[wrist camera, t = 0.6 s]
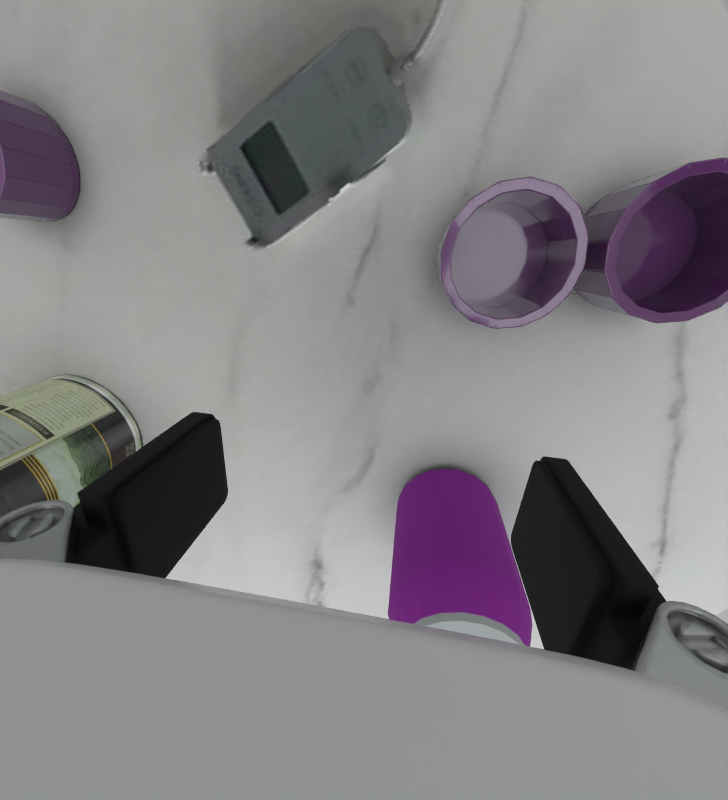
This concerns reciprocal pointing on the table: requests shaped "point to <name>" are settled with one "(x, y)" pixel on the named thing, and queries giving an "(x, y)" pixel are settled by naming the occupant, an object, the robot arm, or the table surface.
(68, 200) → the dish far
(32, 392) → the coffee can
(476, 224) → the dish middle
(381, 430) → the table surface
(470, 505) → the beverage can
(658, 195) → the dish near
